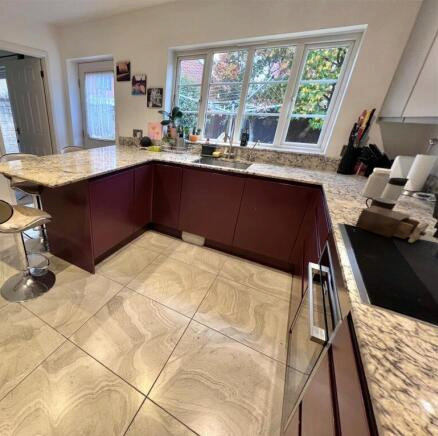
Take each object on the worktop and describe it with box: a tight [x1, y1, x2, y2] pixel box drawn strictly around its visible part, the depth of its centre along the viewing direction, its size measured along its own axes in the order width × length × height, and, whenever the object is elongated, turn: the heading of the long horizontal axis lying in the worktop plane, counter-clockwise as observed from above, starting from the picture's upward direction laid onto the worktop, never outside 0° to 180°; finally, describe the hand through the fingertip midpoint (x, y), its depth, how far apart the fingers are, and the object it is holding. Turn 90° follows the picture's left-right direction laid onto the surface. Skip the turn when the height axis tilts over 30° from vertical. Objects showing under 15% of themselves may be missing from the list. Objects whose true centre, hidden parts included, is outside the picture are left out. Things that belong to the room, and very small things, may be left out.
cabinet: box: [354, 205, 411, 239], centre depth 104 cm, size 13×12×9 cm
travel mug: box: [381, 177, 410, 211], centre depth 118 cm, size 6×7×20 cm
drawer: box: [393, 218, 430, 244], centre depth 98 cm, size 13×10×7 cm
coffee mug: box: [365, 197, 398, 210], centre depth 116 cm, size 12×9×10 cm
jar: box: [361, 167, 393, 199], centre depth 147 cm, size 10×10×18 cm
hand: (435, 236), depth 93 cm, fingers closed
